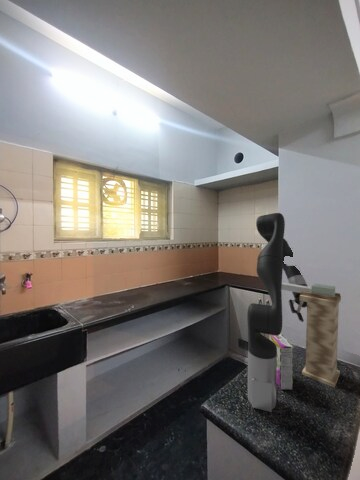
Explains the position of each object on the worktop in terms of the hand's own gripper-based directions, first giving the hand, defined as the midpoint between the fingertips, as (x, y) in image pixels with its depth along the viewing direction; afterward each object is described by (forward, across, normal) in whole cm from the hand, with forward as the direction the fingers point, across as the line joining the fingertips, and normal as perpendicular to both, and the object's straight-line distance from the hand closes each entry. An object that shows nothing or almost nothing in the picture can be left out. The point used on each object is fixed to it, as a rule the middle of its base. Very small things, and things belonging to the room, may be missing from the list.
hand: (312, 320), depth 101 cm
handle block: (-8, -3, -16) cm, 19 cm away
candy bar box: (+21, -22, -8) cm, 32 cm away
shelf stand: (+20, -5, -1) cm, 21 cm away
